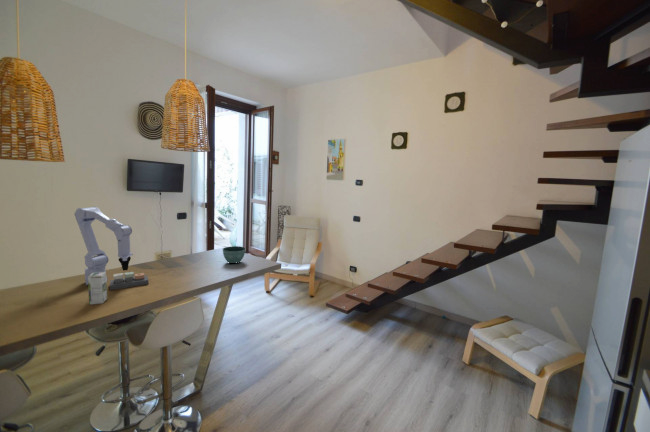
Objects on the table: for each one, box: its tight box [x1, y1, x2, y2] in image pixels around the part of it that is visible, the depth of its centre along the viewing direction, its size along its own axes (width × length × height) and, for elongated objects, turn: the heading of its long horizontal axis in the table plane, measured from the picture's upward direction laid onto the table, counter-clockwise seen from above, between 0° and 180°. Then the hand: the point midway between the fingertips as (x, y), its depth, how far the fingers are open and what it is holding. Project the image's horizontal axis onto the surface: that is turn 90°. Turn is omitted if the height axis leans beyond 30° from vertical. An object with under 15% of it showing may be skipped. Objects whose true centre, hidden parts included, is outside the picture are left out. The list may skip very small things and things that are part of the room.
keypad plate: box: [109, 274, 149, 291], centre depth 164 cm, size 18×10×2 cm, turn 125°
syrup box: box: [87, 271, 108, 305], centre depth 140 cm, size 6×6×14 cm
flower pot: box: [222, 245, 246, 263], centre depth 211 cm, size 16×16×11 cm
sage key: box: [123, 271, 135, 282], centre depth 164 cm, size 4×4×5 cm
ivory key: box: [112, 272, 124, 283], centre depth 161 cm, size 4×4×5 cm
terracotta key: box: [134, 272, 145, 280], centre depth 167 cm, size 4×4×5 cm
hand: (125, 270), depth 162 cm, fingers closed
